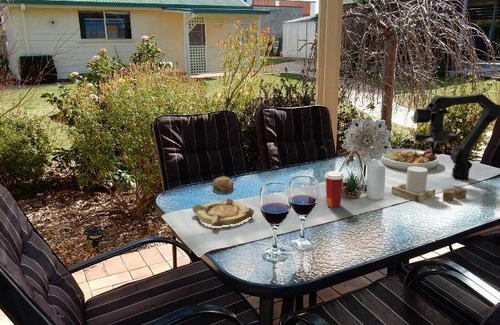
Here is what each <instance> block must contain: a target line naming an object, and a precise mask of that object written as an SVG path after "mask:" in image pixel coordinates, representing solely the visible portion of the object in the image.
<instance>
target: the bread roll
mask: <svg viewBox="0 0 500 325" xmlns="http://www.w3.org/2000/svg"><path fill="white" fill-rule="evenodd" d="M212 189H213V191H214V192H215V191H216V193H229V192H230V193H231V192H232V191H233V189H234V181H233V180H232V179H231V178H230V177H228V176H225V175H223V176H220V177H217V178H215V179H214V180H213V182H212Z"/></svg>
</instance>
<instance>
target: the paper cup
mask: <svg viewBox="0 0 500 325" xmlns="http://www.w3.org/2000/svg"><path fill="white" fill-rule="evenodd" d="M324 177H325V194H326V195H325V197H326V198H325V199H326V206H327V205H328V206H329V208H331V207H337V208H339V206H340V207H341V201H342V193H343V192H342V190H343V183H344V178H345V175H344V174H343V172H341V171H336V170H331V171H327V172H326V173H325V174H324ZM328 206H327V207H328Z"/></svg>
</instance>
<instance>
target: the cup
mask: <svg viewBox="0 0 500 325" xmlns="http://www.w3.org/2000/svg"><path fill="white" fill-rule="evenodd" d="M428 171H429V169H426V168H424V167H418V166H412V167H408V169H407V170H406V172H407V173H406V181H405V183H406V190H407V191H410V192H413V193H416V194H419V193H422V192H425V191H427V189H426V188H427V181H428V180H427V179H428Z"/></svg>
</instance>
